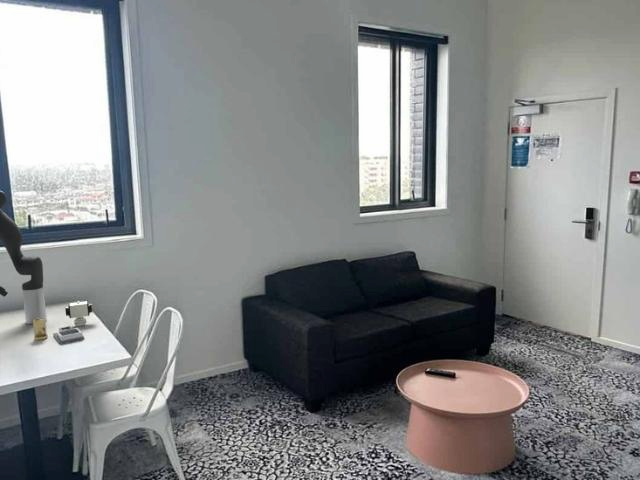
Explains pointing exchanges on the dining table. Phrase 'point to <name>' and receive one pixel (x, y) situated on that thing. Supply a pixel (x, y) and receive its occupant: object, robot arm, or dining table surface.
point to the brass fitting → (40, 329)
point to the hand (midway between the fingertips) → (5, 293)
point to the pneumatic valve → (79, 312)
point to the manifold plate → (68, 335)
